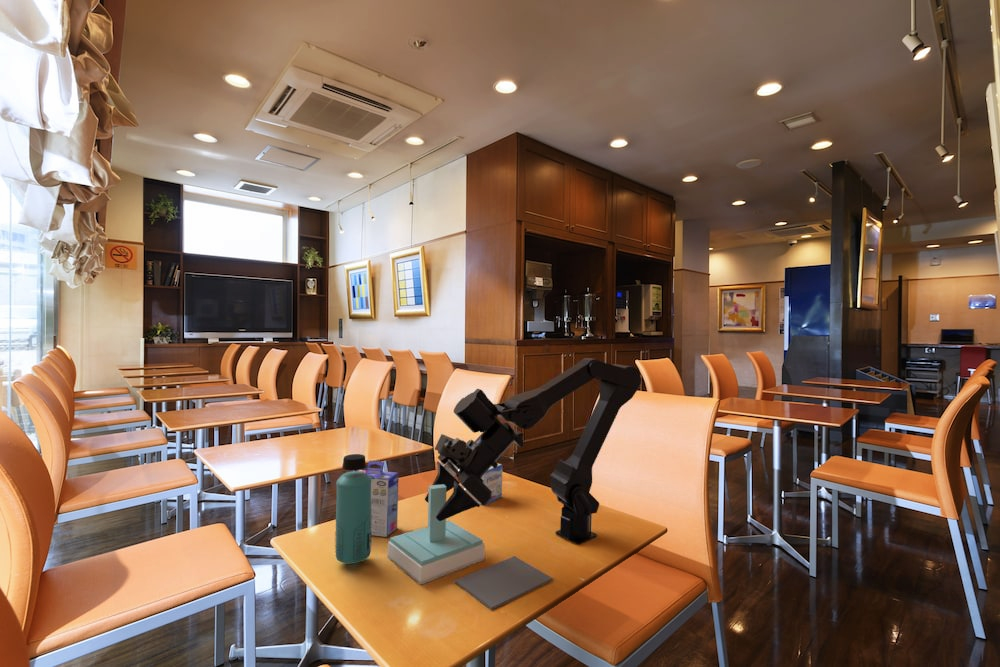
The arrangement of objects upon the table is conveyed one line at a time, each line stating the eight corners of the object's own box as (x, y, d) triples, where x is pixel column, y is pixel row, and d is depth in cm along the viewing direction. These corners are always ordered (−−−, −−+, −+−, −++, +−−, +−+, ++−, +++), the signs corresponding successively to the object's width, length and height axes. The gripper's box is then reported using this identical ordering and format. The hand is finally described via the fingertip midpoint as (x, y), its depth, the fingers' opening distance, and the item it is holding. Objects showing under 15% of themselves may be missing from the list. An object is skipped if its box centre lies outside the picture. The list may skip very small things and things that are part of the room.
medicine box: (485, 506, 115) (485, 471, 115) (470, 502, 118) (471, 468, 118) (502, 497, 122) (503, 464, 122) (488, 493, 124) (489, 461, 124)
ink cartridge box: (398, 527, 102) (400, 461, 102) (387, 538, 97) (389, 468, 96) (357, 522, 104) (358, 457, 104) (344, 533, 99) (345, 464, 98)
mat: (514, 558, 89) (514, 556, 89) (552, 580, 82) (552, 577, 82) (454, 582, 80) (454, 580, 80) (491, 610, 73) (491, 607, 73)
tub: (448, 537, 98) (449, 523, 98) (484, 559, 88) (484, 544, 88) (387, 557, 88) (387, 541, 88) (420, 584, 79) (420, 567, 79)
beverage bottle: (371, 569, 84) (374, 459, 84) (332, 574, 82) (335, 461, 82) (371, 552, 90) (373, 450, 90) (334, 556, 88) (336, 451, 88)
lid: (448, 524, 97) (449, 472, 97) (482, 544, 88) (483, 487, 88) (390, 542, 88) (391, 485, 88) (421, 566, 80) (422, 503, 80)
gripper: (448, 412, 98) (394, 468, 95) (476, 430, 81) (411, 500, 77) (482, 446, 101) (431, 502, 98) (516, 472, 84) (456, 541, 80)
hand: (431, 509), depth 88 cm, fingers open, 9 cm apart
